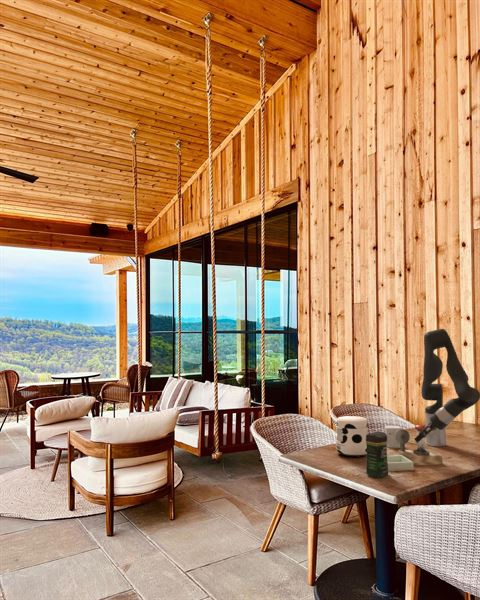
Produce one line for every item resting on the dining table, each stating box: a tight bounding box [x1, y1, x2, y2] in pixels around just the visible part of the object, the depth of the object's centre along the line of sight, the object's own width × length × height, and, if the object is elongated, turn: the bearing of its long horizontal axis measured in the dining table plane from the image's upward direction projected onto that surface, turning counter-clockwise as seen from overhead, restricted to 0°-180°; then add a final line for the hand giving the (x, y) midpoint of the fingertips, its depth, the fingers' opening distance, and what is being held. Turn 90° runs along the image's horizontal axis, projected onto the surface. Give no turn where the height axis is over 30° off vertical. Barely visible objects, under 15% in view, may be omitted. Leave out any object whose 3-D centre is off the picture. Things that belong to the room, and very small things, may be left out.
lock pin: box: [414, 424, 426, 452], centre depth 219 cm, size 5×5×13 cm
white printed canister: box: [335, 415, 369, 458], centre depth 235 cm, size 17×17×18 cm
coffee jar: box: [365, 430, 389, 479], centre depth 201 cm, size 10×8×19 cm
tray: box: [387, 454, 415, 472], centre depth 213 cm, size 12×12×3 cm
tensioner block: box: [395, 428, 443, 466], centre depth 221 cm, size 18×12×14 cm, turn 96°
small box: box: [384, 425, 402, 449], centre depth 249 cm, size 8×6×10 cm
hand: (418, 439), depth 219 cm, fingers open, 8 cm apart
